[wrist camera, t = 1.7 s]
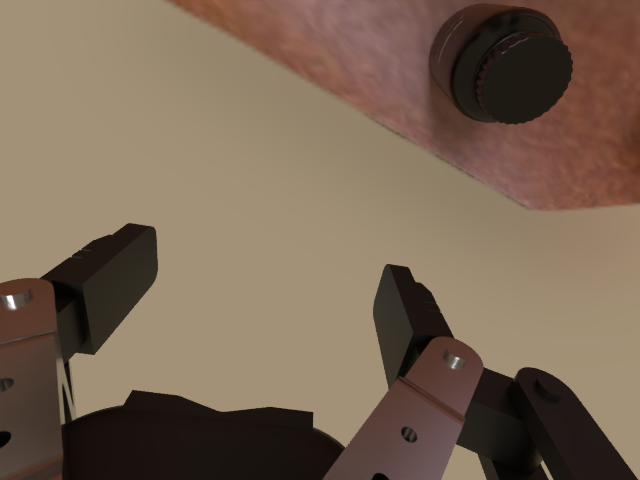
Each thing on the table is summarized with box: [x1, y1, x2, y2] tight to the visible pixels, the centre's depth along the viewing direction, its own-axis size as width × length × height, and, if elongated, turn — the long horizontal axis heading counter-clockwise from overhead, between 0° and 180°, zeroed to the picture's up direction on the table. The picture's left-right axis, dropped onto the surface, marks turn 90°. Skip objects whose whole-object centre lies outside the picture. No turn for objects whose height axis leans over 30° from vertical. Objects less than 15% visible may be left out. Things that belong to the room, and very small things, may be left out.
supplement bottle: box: [430, 4, 573, 125], centre depth 23 cm, size 7×7×12 cm
